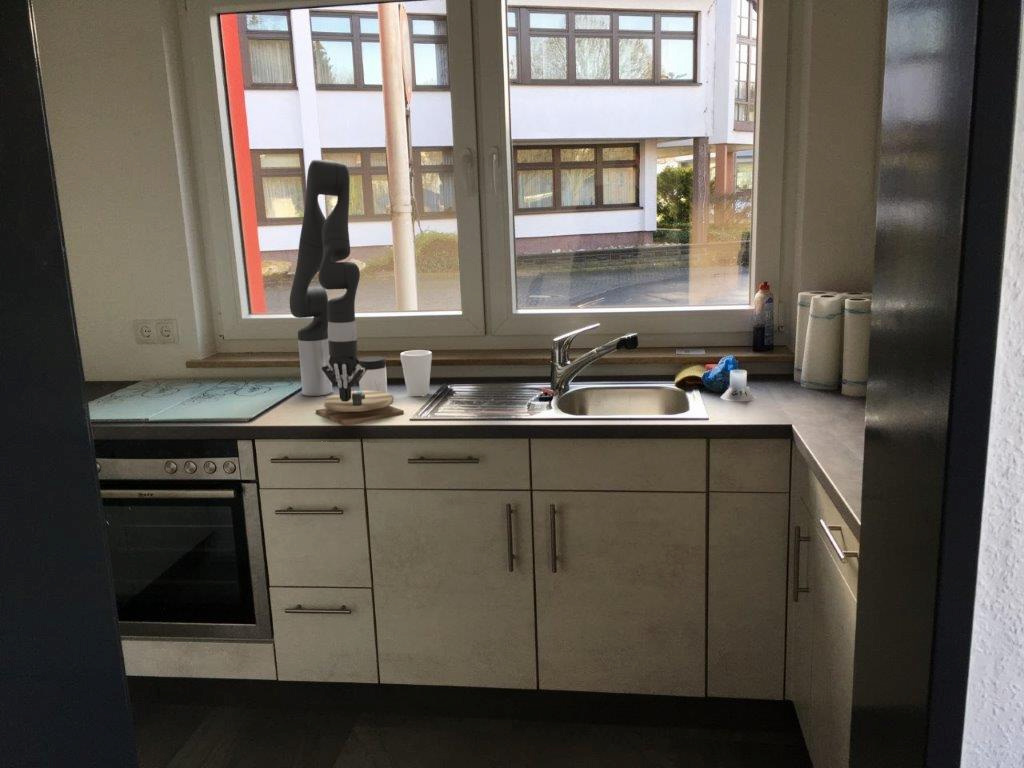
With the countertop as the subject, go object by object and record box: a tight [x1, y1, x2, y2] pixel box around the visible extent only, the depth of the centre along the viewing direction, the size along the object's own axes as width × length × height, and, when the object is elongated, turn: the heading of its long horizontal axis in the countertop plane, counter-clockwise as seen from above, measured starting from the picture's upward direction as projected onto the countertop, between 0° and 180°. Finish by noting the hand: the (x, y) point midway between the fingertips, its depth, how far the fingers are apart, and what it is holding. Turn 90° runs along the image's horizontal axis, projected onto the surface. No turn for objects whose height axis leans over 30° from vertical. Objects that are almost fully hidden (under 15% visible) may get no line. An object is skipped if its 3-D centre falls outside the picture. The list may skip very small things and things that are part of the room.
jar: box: [357, 356, 388, 393], centre depth 251 cm, size 9×8×12 cm
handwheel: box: [323, 390, 394, 412], centre depth 232 cm, size 19×19×4 cm
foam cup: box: [400, 349, 433, 397], centre depth 254 cm, size 10×9×13 cm
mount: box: [315, 405, 405, 426], centre depth 233 cm, size 18×18×3 cm
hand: (345, 400), depth 225 cm, fingers closed
